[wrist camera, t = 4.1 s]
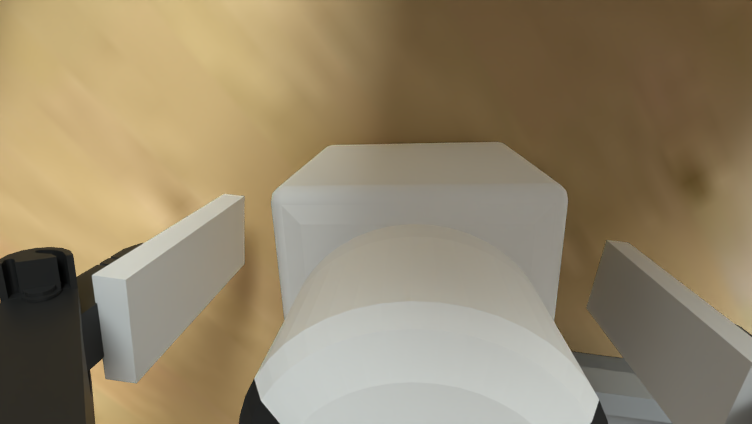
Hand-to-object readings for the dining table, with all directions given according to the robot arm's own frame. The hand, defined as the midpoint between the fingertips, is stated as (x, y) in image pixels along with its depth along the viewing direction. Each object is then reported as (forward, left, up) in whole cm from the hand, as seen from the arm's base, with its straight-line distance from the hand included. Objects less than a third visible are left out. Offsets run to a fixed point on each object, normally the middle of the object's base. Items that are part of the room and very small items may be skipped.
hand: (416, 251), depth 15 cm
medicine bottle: (0, 0, -3) cm, 3 cm away
